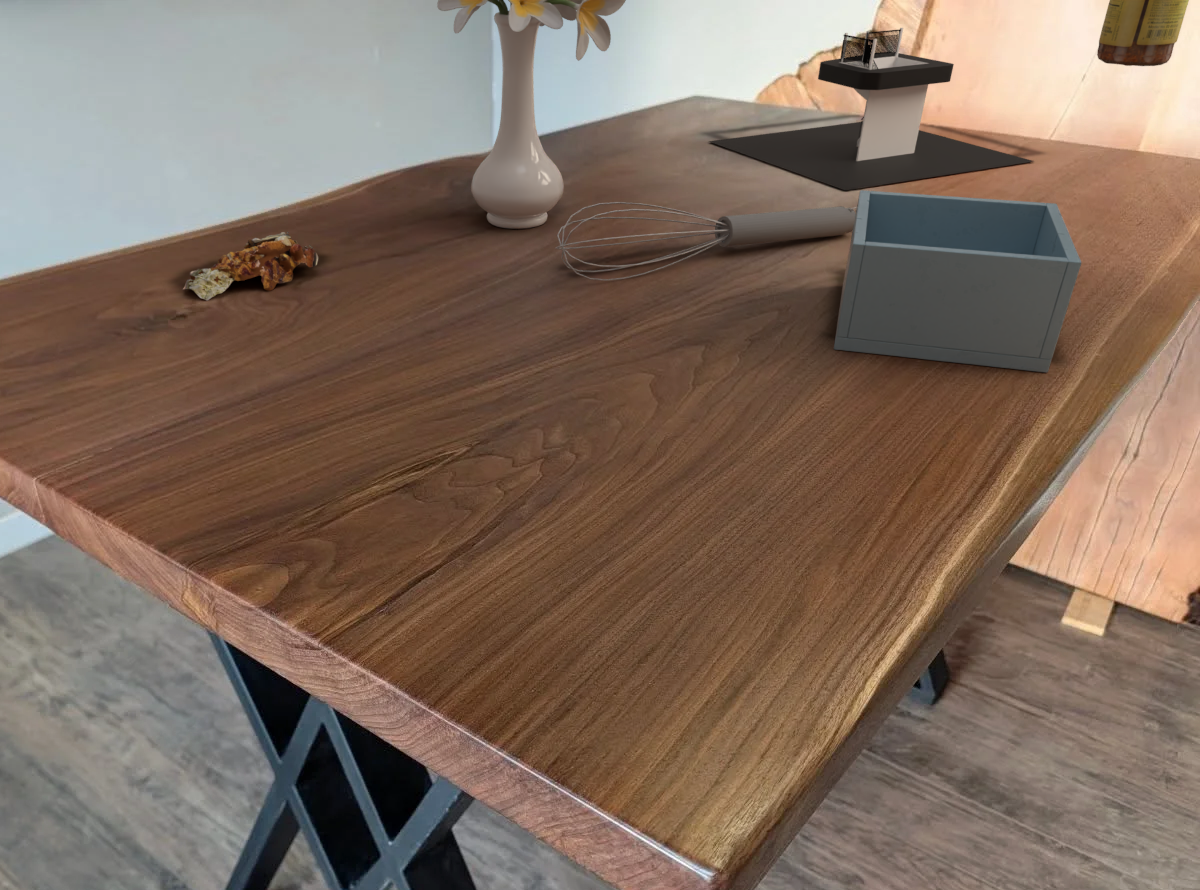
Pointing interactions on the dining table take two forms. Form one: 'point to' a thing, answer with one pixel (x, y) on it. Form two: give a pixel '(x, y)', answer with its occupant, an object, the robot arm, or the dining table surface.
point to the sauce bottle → (1140, 31)
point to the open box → (957, 280)
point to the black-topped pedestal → (874, 125)
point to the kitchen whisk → (733, 230)
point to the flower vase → (526, 106)
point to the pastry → (253, 265)
